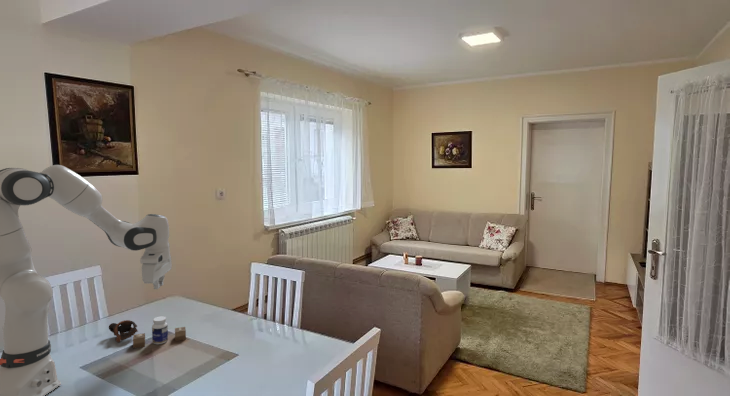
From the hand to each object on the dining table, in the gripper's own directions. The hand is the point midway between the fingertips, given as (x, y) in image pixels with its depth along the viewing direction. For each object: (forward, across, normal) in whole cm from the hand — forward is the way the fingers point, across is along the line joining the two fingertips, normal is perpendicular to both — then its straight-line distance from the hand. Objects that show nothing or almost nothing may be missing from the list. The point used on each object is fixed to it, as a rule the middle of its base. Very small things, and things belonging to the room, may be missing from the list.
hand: (158, 287), depth 162 cm
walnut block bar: (+23, -3, +7) cm, 24 cm away
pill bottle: (+23, 0, 0) cm, 23 cm away
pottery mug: (+24, -5, -17) cm, 29 cm away
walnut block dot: (+23, +3, -7) cm, 24 cm away
